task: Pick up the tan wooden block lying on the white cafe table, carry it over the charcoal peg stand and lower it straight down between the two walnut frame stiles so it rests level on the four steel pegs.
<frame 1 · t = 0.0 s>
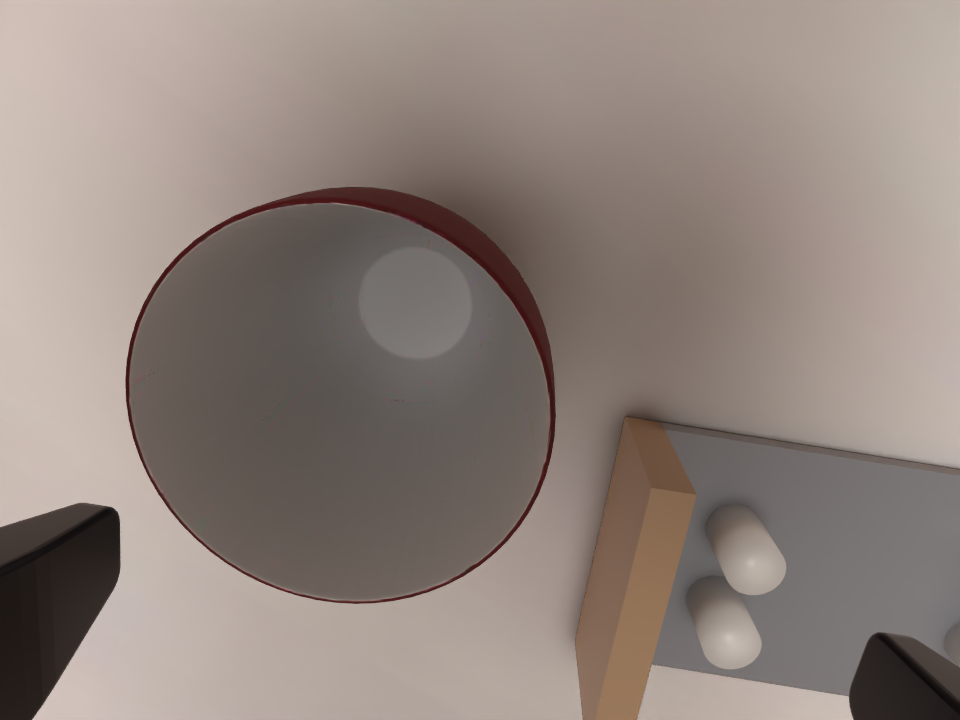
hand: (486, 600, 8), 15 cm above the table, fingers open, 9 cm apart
mug: (413, 337, 23), on the table
peg stand: (846, 574, 24), on the table
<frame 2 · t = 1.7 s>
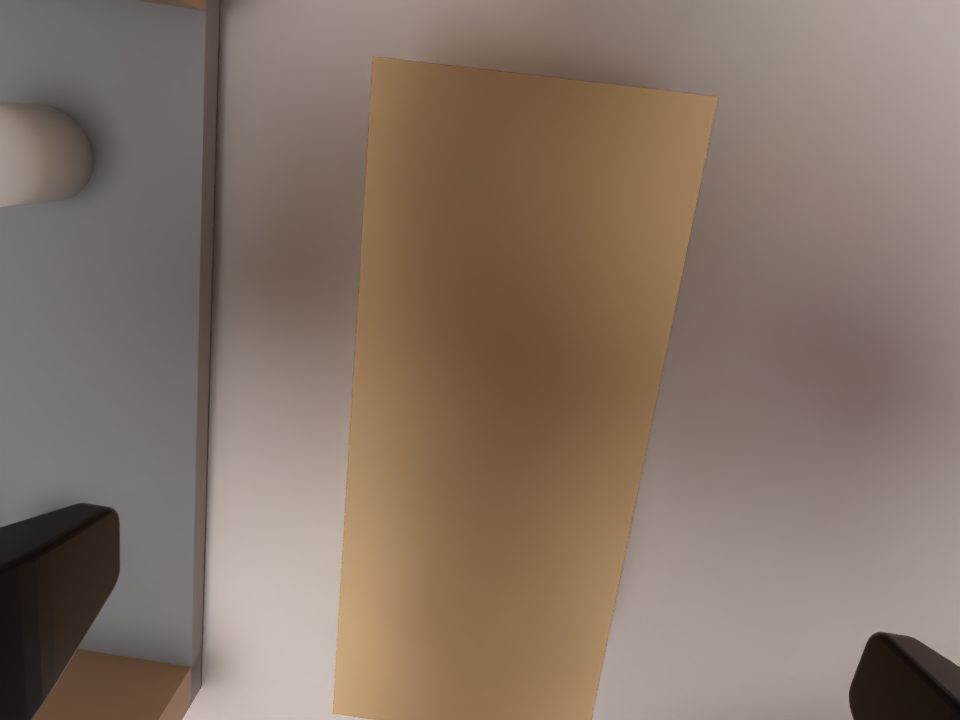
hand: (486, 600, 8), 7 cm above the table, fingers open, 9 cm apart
tan wooden block: (501, 378, 16), on the table
peg stand: (13, 348, 16), on the table
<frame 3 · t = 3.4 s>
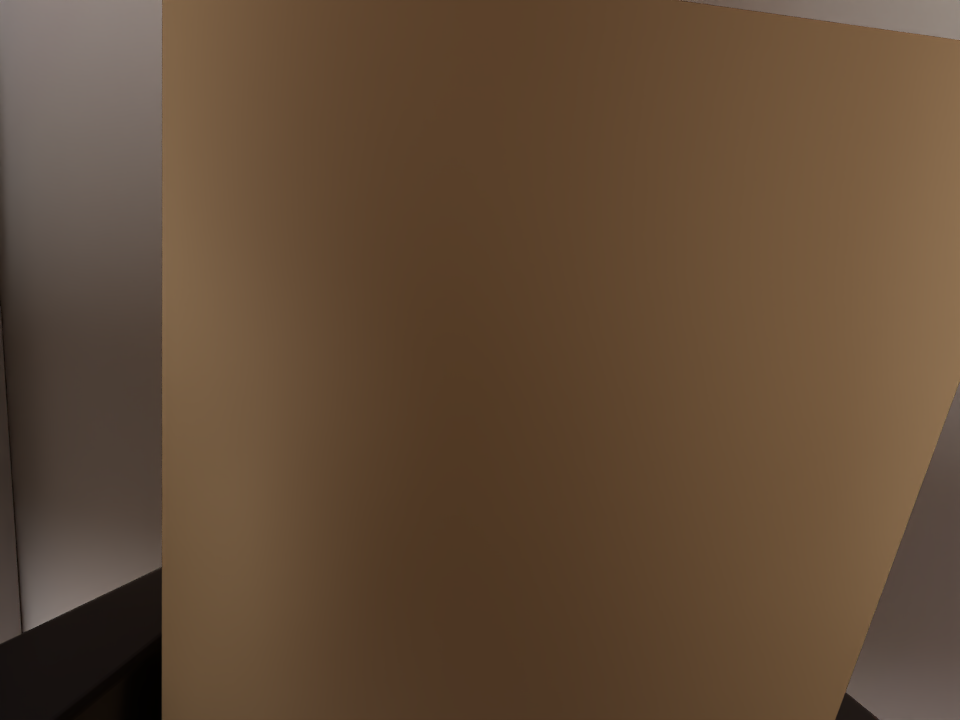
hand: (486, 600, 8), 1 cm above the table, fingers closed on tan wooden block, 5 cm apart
tan wooden block: (491, 544, 9), on the table, touching gripper
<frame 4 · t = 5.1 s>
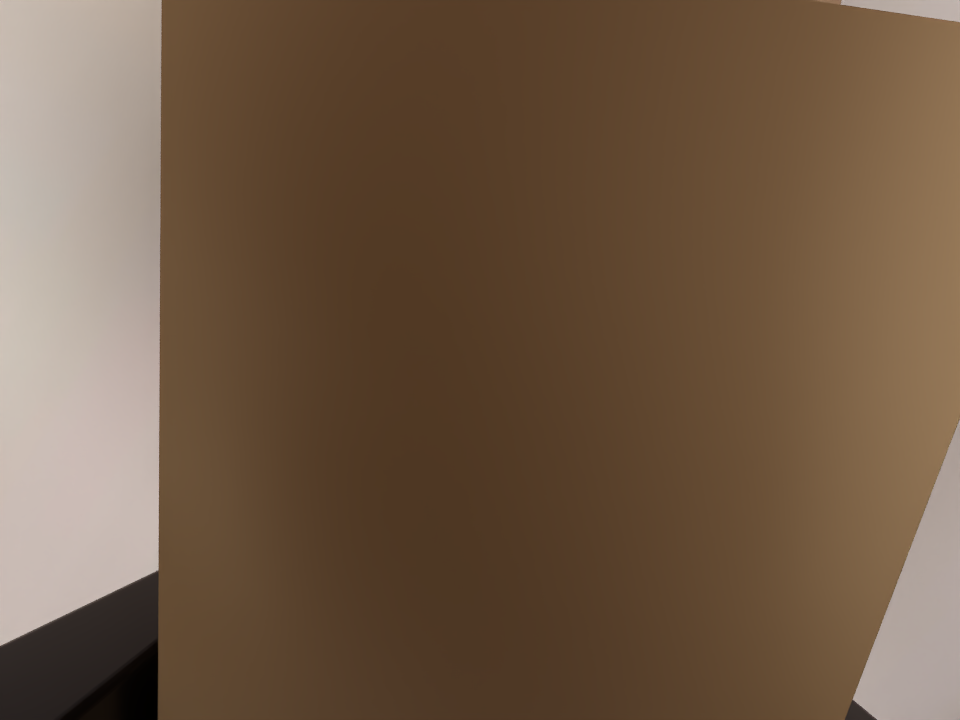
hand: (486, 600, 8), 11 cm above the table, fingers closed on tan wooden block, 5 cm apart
tan wooden block: (492, 542, 9), point 10 cm above the table, touching gripper
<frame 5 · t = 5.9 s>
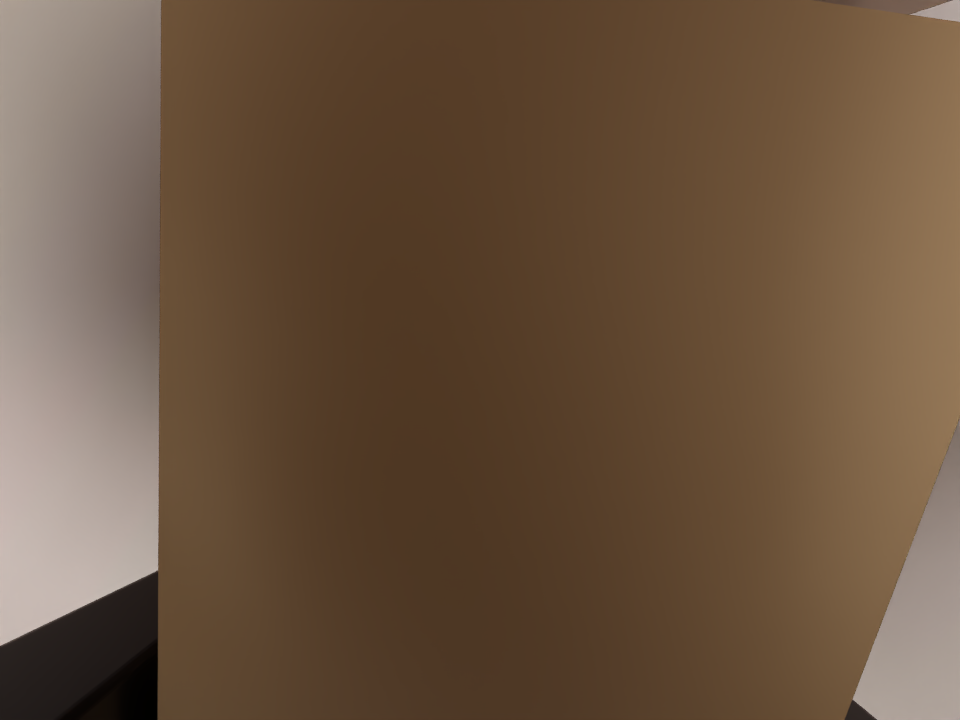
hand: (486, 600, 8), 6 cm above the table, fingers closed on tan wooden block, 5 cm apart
tan wooden block: (491, 542, 9), point 5 cm above the table, touching gripper
peg stand: (497, 411, 14), on the table
when the fingers open (5 cm above the table, at t = 6.8 s): tan wooden block drops 1 cm, resting on peg stand.
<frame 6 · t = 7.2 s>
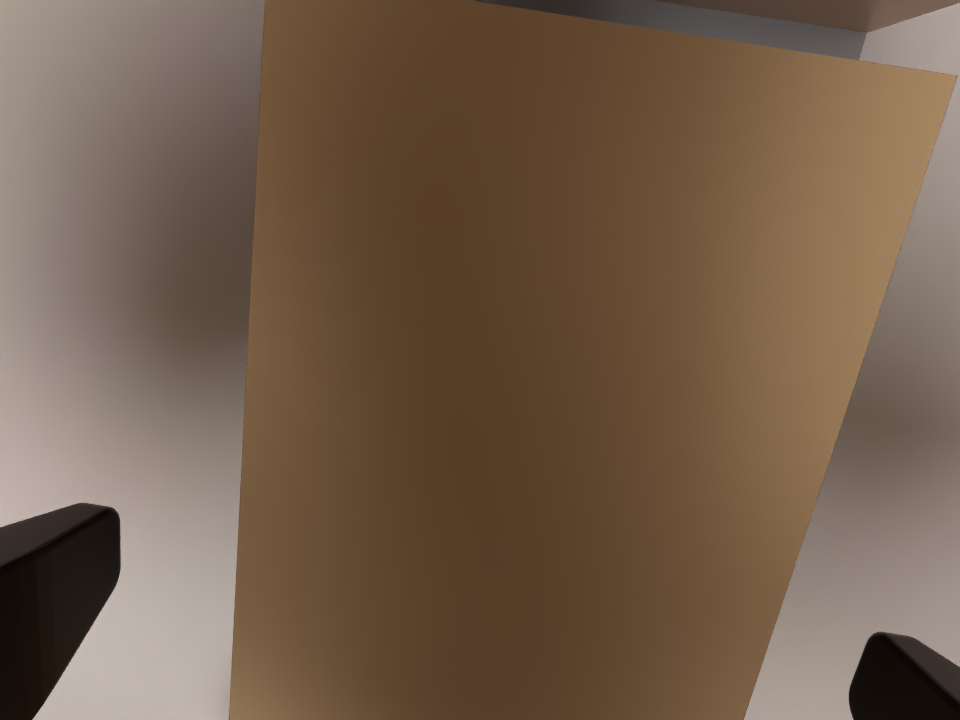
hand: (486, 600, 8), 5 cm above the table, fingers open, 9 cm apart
tan wooden block: (498, 494, 11), point 3 cm above the table, touching peg stand
peg stand: (499, 422, 13), on the table
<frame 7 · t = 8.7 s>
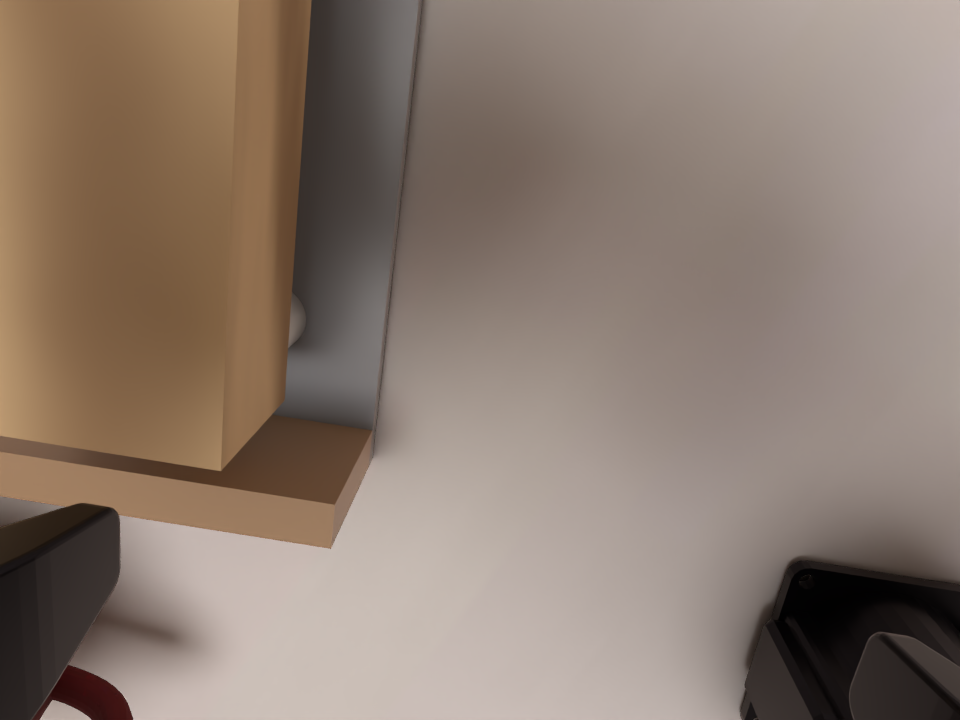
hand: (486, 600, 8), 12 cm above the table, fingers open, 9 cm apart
tan wooden block: (193, 142, 16), point 3 cm above the table, touching peg stand
mug: (52, 598, 24), on the table
peg stand: (240, 144, 19), on the table
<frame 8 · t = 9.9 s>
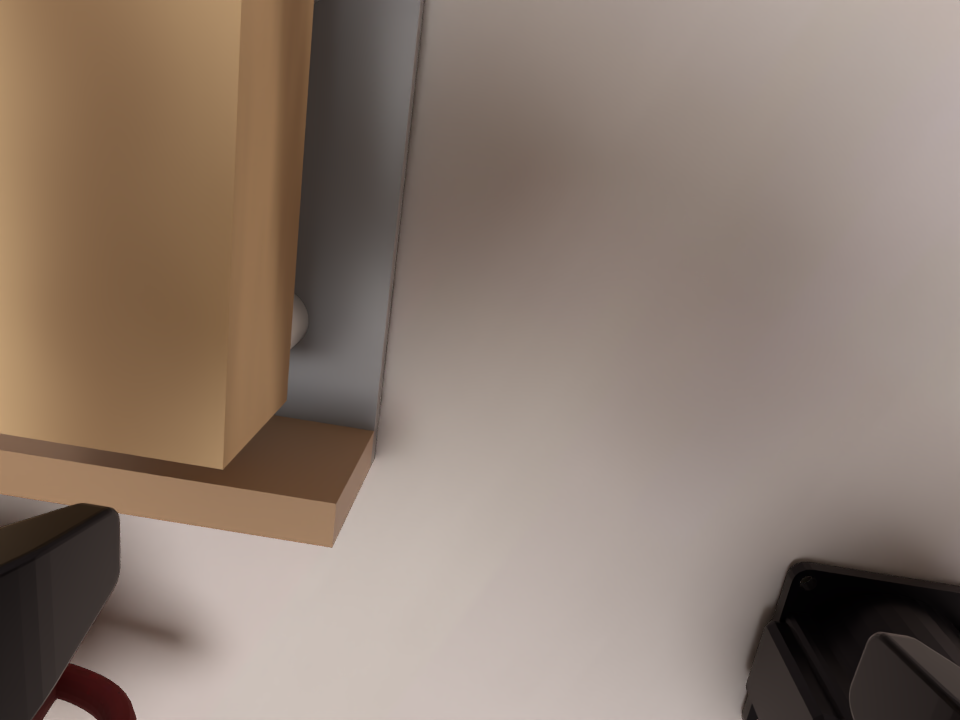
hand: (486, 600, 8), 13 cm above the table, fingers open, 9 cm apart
tan wooden block: (197, 144, 16), point 3 cm above the table, touching peg stand
mug: (56, 597, 24), on the table
peg stand: (243, 146, 19), on the table
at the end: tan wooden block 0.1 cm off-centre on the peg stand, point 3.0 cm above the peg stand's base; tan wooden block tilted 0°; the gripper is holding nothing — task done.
